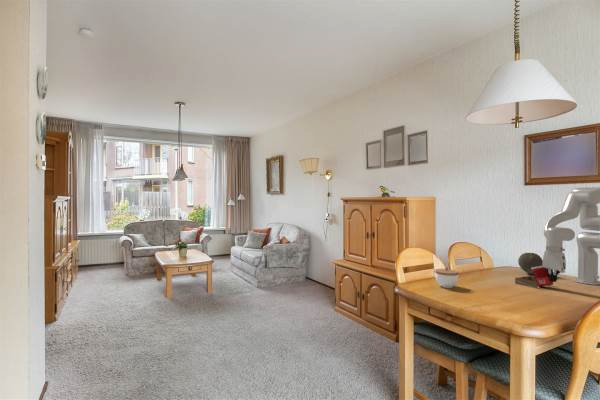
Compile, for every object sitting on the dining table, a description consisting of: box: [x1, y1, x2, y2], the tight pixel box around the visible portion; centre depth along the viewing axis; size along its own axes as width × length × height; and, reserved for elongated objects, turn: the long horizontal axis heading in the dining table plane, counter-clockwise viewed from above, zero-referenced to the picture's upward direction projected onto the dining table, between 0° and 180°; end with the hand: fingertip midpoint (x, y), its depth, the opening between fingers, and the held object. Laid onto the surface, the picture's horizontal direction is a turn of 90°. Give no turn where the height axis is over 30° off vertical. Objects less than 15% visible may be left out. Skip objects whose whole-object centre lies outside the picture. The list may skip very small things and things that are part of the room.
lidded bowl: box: [434, 266, 459, 289], centre depth 193 cm, size 13×13×11 cm
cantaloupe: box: [517, 252, 543, 276], centre depth 228 cm, size 14×14×15 cm
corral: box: [514, 275, 551, 289], centre depth 200 cm, size 14×12×4 cm
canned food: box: [531, 266, 554, 288], centre depth 195 cm, size 8×8×11 cm
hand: (553, 281), depth 189 cm, fingers closed
